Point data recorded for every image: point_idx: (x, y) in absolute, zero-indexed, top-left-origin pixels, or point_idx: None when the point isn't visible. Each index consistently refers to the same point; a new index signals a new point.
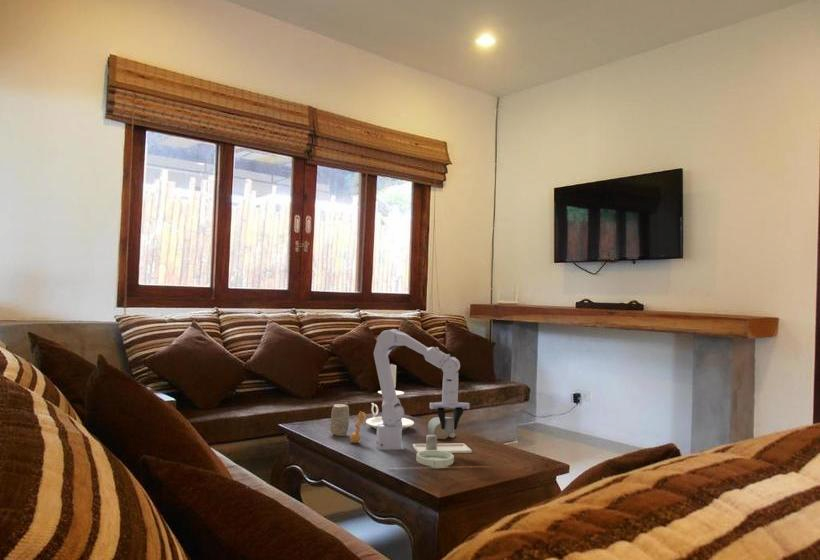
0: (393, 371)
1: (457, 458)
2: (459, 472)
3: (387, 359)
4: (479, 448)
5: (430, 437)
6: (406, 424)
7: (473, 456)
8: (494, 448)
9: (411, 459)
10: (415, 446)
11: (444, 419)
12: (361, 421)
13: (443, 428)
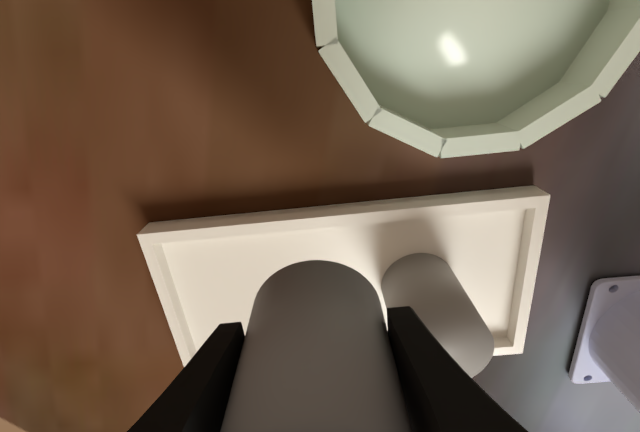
0: None
1: (258, 119)
2: None
3: None
4: (100, 340)
5: (470, 315)
6: None
7: (135, 175)
8: (7, 344)
9: (626, 75)
10: (526, 304)
11: (438, 418)
12: None
13: (400, 312)
